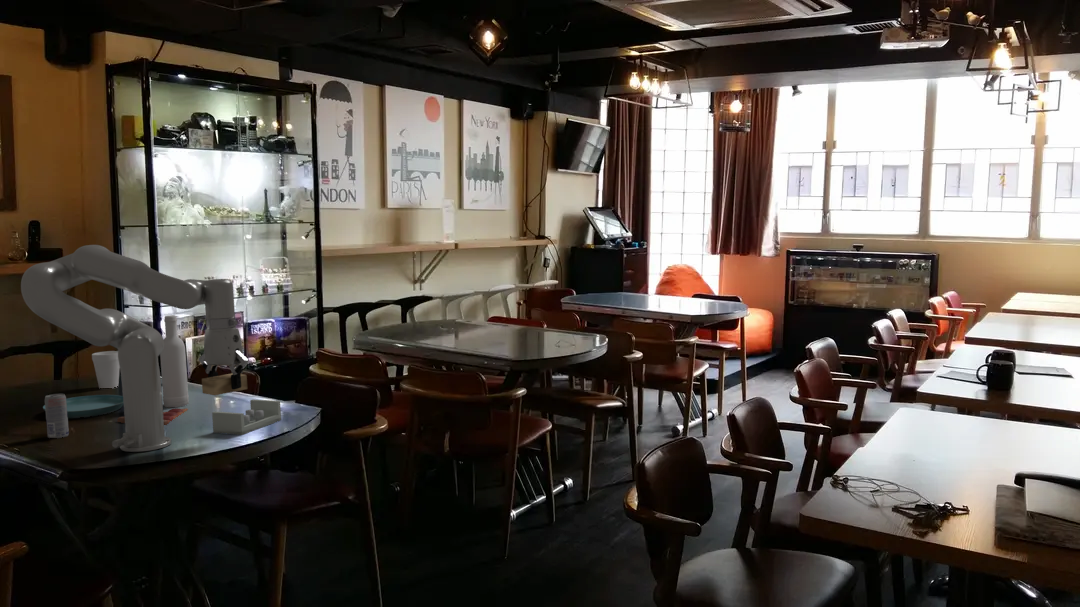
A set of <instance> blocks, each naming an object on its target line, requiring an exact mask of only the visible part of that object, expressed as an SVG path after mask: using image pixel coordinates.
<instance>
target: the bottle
mask: <svg viewBox="0 0 1080 607" xmlns="http://www.w3.org/2000/svg"><path fill="white" fill-rule="evenodd" d="M163 321H164V329H165V330H164V331H165V332H164V333H165V336H164V338H163V340H164V348H163V351H162V352H161V354H160V355H159V357H160V368H161V369H160V370H161V372H160V374H161V388H162V404H163V407H164V408H180V406H181V407H185V405H186V406H188V405H190V401H189V400H190V396H189V386H188V374H187V373H188V370H187V356H186V345H185V343H184V340H183V339H181V337H179V336H178V324H177V322H178V318H177V315H175V314H174V315H172V314H171V315H165V316H164V319H163ZM187 404H188V405H187Z"/></svg>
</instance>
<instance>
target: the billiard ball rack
mask: <svg viewBox="0 0 1080 607" xmlns="http://www.w3.org/2000/svg"><path fill="white" fill-rule="evenodd" d="M187 410H188V411H189V408H179V407H174V408H171V409H169V410H168V411H163V420H164V425H166V426H168V425H169V422H170V421H171V422H172V420H173V419H174V420H176V419H177V418H178V416H179V415H180V416H182V415H183V414H185V413H186V412H188V411H187ZM185 411H186V412H185ZM184 412H185V413H184ZM182 413H183V414H182ZM181 414H182V415H181ZM180 416H179V417H180ZM176 417H177V418H176ZM175 418H176V419H175ZM174 420H173V421H174ZM116 422H117V423H118V422H121V424H125V416H119V417H117V418H116ZM171 422H170V423H171ZM167 424H168V425H167Z"/></svg>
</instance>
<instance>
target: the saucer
mask: <svg viewBox="0 0 1080 607" xmlns="http://www.w3.org/2000/svg"><path fill="white" fill-rule="evenodd" d="M66 404H67V416H68V419H81V418H80V417H84V418H91V417H90V416H92V417H98V415H99V416H102V415H103V414H104V415H108V414H111V412H112V413H115V412H117V411H119V410H120V409H121V408H122V407H124V402H123V395H117V394H94V395H93V394H92V395H83V396H75V397H66ZM42 410H44V411H45V404H44V405H43V406H42ZM114 411H115V412H114ZM45 413H46V411H45ZM107 413H108V414H107Z"/></svg>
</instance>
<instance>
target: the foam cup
mask: <svg viewBox="0 0 1080 607" xmlns="http://www.w3.org/2000/svg"><path fill="white" fill-rule="evenodd" d="M91 360H92V362H93V366H94V372H95V375H96V381H97V383H98V384H97V385H98V388H99V389H100V388H112V389H115V388H114V387H116V388H118V387H119V381H120V366H119V360H118V350H116V351H115V350H107V351H97V352H94V353H92V354H91ZM117 386H118V387H117Z"/></svg>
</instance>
